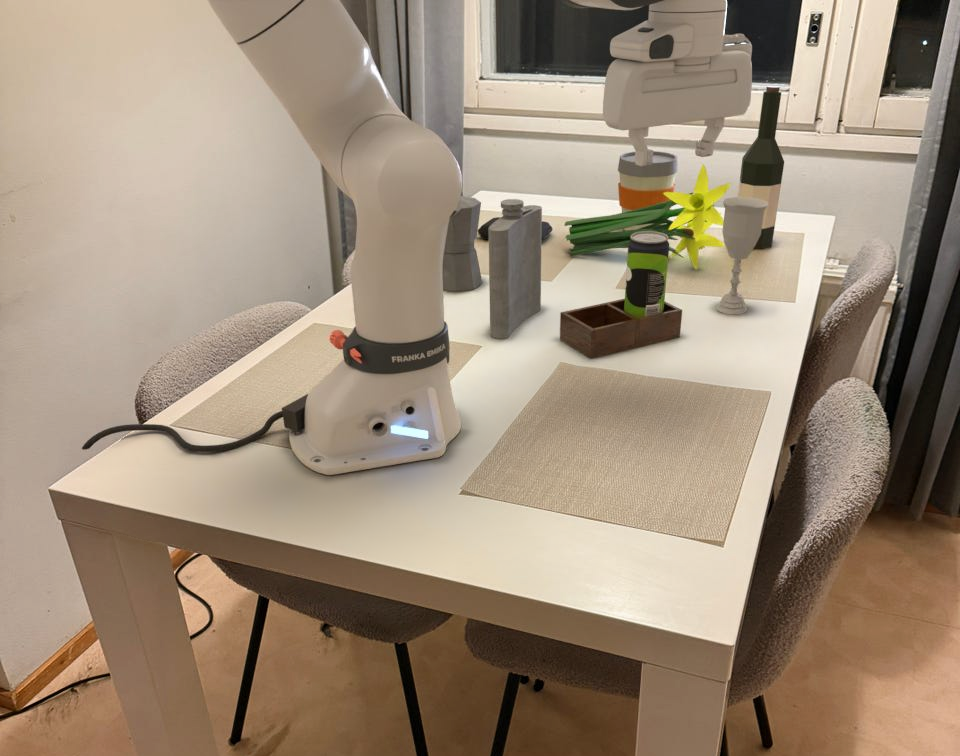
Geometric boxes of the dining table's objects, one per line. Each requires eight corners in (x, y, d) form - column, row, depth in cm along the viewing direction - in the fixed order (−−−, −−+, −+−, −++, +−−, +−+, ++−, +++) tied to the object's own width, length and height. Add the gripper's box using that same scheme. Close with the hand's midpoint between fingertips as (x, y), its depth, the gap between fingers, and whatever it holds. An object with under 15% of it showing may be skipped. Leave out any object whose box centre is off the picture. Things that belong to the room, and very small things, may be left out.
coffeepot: (480, 296, 162) (478, 194, 153) (428, 296, 163) (423, 194, 153) (485, 269, 175) (483, 173, 166) (437, 268, 176) (433, 174, 167)
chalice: (760, 308, 154) (776, 201, 145) (740, 319, 150) (755, 210, 140) (722, 299, 158) (735, 194, 149) (702, 309, 154) (714, 203, 145)
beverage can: (665, 324, 147) (673, 232, 139) (657, 338, 142) (665, 243, 134) (627, 319, 149) (633, 229, 141) (618, 333, 144) (624, 240, 136)
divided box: (590, 359, 137) (591, 330, 135) (559, 339, 144) (560, 312, 142) (679, 337, 144) (682, 309, 141) (646, 319, 151) (648, 293, 148)
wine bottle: (777, 241, 187) (801, 85, 171) (765, 251, 181) (788, 90, 165) (738, 235, 191) (758, 82, 175) (725, 245, 185) (744, 88, 169)
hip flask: (504, 340, 144) (503, 214, 134) (482, 336, 146) (479, 212, 135) (543, 307, 156) (545, 190, 146) (522, 304, 158) (522, 188, 148)
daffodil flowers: (593, 241, 192) (757, 215, 173) (577, 294, 186) (746, 273, 167) (561, 182, 180) (734, 147, 161) (543, 237, 174) (720, 207, 155)
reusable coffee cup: (614, 219, 203) (618, 150, 195) (671, 220, 202) (677, 150, 194) (614, 235, 193) (618, 163, 185) (673, 236, 191) (680, 163, 183)
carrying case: (556, 233, 195) (494, 227, 200) (557, 219, 194) (493, 213, 199) (539, 246, 187) (475, 240, 192) (540, 232, 185) (474, 226, 190)
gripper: (735, 30, 112) (721, 146, 119) (598, 41, 104) (592, 165, 111) (771, 34, 107) (755, 155, 114) (630, 46, 99) (622, 175, 106)
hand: (674, 160), depth 113 cm, fingers open, 8 cm apart
